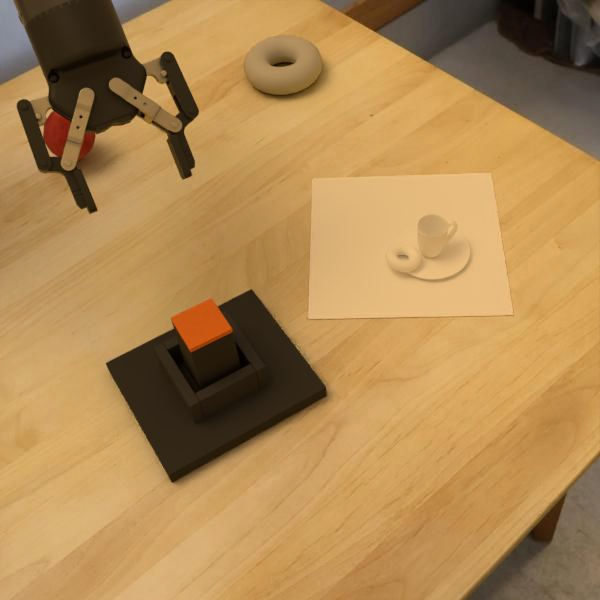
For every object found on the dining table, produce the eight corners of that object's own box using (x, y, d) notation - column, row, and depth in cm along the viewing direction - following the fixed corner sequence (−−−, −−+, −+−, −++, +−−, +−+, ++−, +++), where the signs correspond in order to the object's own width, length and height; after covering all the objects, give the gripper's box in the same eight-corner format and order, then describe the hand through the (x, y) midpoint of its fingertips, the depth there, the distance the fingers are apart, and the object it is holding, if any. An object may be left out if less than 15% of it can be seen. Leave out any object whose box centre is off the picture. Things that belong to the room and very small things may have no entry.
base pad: (172, 483, 74) (161, 458, 71) (109, 371, 82) (97, 344, 79) (327, 395, 79) (324, 368, 75) (253, 297, 87) (248, 269, 83)
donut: (339, 76, 108) (289, 41, 113) (338, 53, 105) (287, 19, 110) (277, 112, 105) (229, 74, 110) (275, 89, 102) (225, 52, 107)
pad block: (204, 400, 78) (189, 349, 71) (186, 369, 80) (170, 317, 74) (243, 380, 79) (232, 328, 72) (224, 350, 81) (211, 297, 75)
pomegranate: (45, 170, 101) (23, 117, 95) (68, 138, 104) (48, 85, 98) (88, 179, 99) (69, 125, 93) (110, 146, 103) (93, 92, 96)
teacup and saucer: (385, 283, 86) (386, 257, 83) (383, 226, 91) (383, 198, 88) (473, 281, 86) (477, 254, 83) (466, 223, 91) (469, 196, 87)
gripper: (-22, 25, 66) (61, 223, 68) (151, -29, 69) (225, 161, 71) (-14, 48, 73) (61, 226, 75) (143, -2, 76) (211, 170, 78)
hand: (141, 194), depth 73 cm, fingers open, 8 cm apart
